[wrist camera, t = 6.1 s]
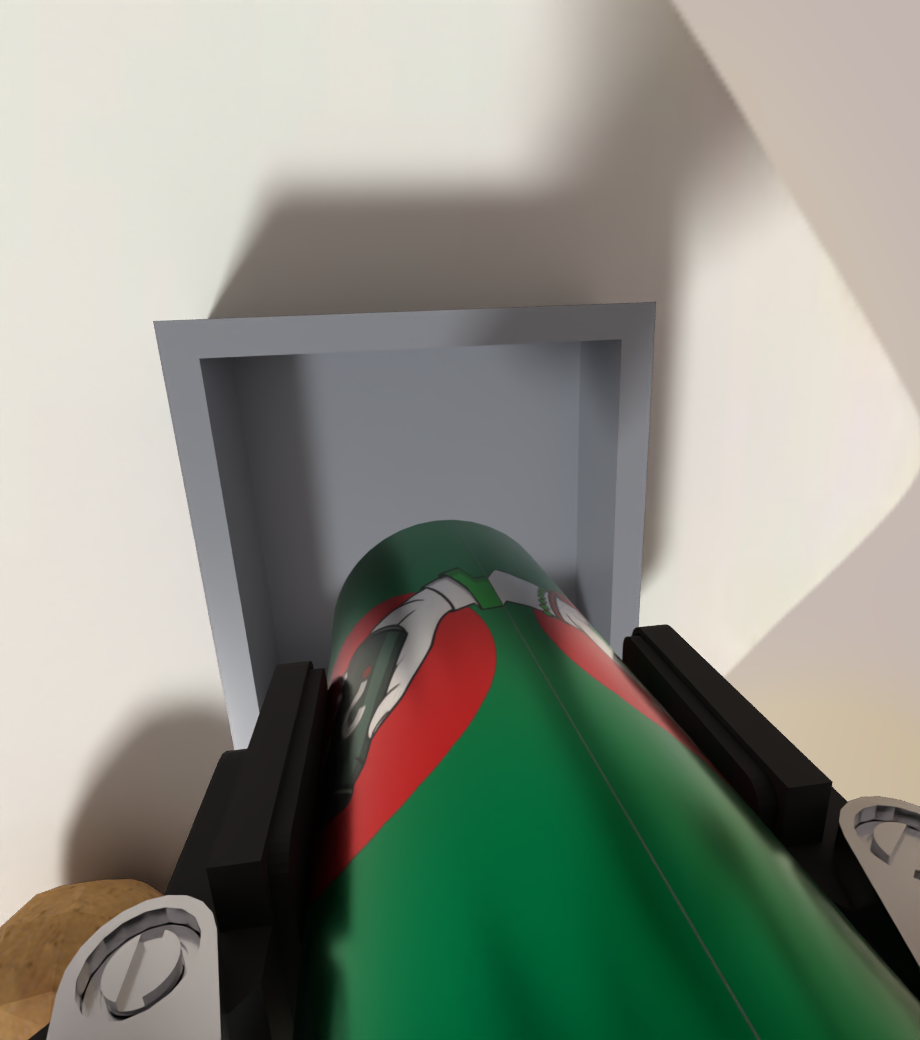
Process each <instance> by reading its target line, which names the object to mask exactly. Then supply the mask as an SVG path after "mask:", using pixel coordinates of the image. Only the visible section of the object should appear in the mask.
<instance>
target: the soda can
mask: <svg viewBox="0 0 920 1040" xmlns="http://www.w3.org/2000/svg"><path fill="white" fill-rule="evenodd" d="M327 686H328V694H327V702H326V710H325V718H324V726H323V734H322V744H321V754H320V764H319V774H318V784H317V794H316V804H315V814H314V824H313V834H312V844H311V854H310V864H309V874H308V884H307V895H306V905H305V915H304V925H303V936H302V946H301V956H300V966H299V976H298V987H297V997H296V1007H295V1017H294V1028H293V1038H292V1040H920V1002H919V1001H918V1000H917V998H916V997H915V996H914V995H913V994H912V993H911V992H910V990H909V989H908V988H907V987H906V986H905V985H904V984H903V982H902V981H901V980H900V979H899V978H898V977H897V975H896V974H895V973H894V972H893V971H892V970H891V969H890V967H889V966H888V965H887V964H886V963H885V962H884V961H883V959H882V958H881V957H880V956H879V955H878V954H877V953H876V951H875V950H874V949H873V948H872V947H871V946H870V944H869V943H868V942H867V941H866V940H865V939H864V938H863V936H862V935H861V934H860V933H859V932H858V931H857V930H856V928H855V927H854V926H853V925H852V924H851V923H850V922H849V920H848V919H847V918H846V917H845V916H844V915H843V913H842V912H841V911H840V910H839V909H838V908H837V907H836V905H835V904H834V903H833V902H832V901H831V900H830V899H829V897H828V896H827V895H826V894H825V893H824V892H823V890H822V889H821V888H820V887H819V886H818V885H817V884H816V882H815V881H814V880H813V879H812V878H811V877H810V876H809V874H808V873H807V872H806V871H805V870H804V869H803V868H802V866H801V865H800V864H799V863H798V862H797V861H796V859H795V858H794V857H793V856H792V855H791V854H790V853H789V851H788V850H787V849H786V848H785V847H784V846H783V845H782V843H781V842H780V841H779V840H778V839H777V838H776V837H775V835H774V834H773V833H772V832H771V831H770V830H769V828H768V827H767V826H766V825H765V824H764V823H763V822H762V820H761V819H760V818H759V817H758V816H757V815H756V814H755V812H754V811H753V810H752V809H751V808H750V807H749V806H748V804H747V803H746V802H745V801H744V800H743V799H742V797H741V796H740V795H739V794H738V793H737V792H736V791H735V789H734V788H733V787H732V786H731V785H730V784H729V783H728V781H727V780H726V779H725V778H724V777H723V776H722V774H721V773H720V772H719V771H718V770H717V769H716V768H715V766H714V765H713V764H712V763H711V762H710V761H709V760H708V758H707V757H706V756H705V755H704V754H703V753H702V752H701V750H700V749H699V748H698V747H697V746H696V745H695V743H694V742H693V741H692V740H691V739H690V738H689V737H688V735H687V734H686V733H685V732H684V731H683V730H682V729H681V727H680V726H679V725H678V724H677V723H676V722H675V721H674V719H673V718H672V717H671V716H670V715H669V714H668V712H667V711H666V710H665V709H664V708H663V707H662V706H661V704H660V703H659V702H658V701H657V700H656V699H655V698H654V696H653V695H652V694H651V693H650V692H649V691H648V690H647V688H646V687H645V686H644V685H643V684H642V683H641V681H640V680H639V679H638V678H637V677H636V676H635V675H634V673H633V672H632V671H631V670H630V669H629V668H628V667H627V665H626V664H625V663H624V662H623V661H622V660H621V658H620V657H619V656H618V655H617V654H616V653H615V652H614V650H613V649H612V648H611V647H610V646H609V645H608V644H607V642H606V641H605V640H604V639H603V638H602V637H601V636H600V634H599V633H598V632H597V631H596V630H595V629H594V627H593V626H592V625H591V624H590V623H589V622H588V621H587V619H586V618H585V617H584V616H583V615H582V614H581V613H580V611H579V610H578V609H577V608H576V607H575V606H574V605H573V603H572V602H571V601H570V600H569V599H568V598H567V596H566V595H565V594H564V593H563V592H562V591H561V590H560V588H559V587H558V586H557V585H556V584H555V583H554V582H553V580H552V579H551V578H550V577H549V576H548V575H547V574H546V572H545V571H544V570H543V569H542V568H541V567H540V565H539V564H538V563H537V562H536V561H535V560H534V559H533V557H532V556H531V555H530V554H529V553H528V552H527V551H526V550H525V549H524V548H523V547H522V546H521V545H520V544H519V543H518V542H516V541H515V540H513V539H512V538H510V537H509V536H507V535H506V534H504V533H502V532H500V531H498V530H496V529H494V528H491V527H489V526H486V525H482V524H479V523H475V522H471V521H462V520H435V521H430V522H425V523H420V524H416V525H414V526H411V527H408V528H405V529H403V530H400V531H398V532H396V533H395V534H393V535H391V536H389V537H387V538H385V539H384V540H382V541H381V542H380V543H378V544H377V545H376V546H374V547H373V548H372V549H370V550H369V551H368V552H367V553H366V554H365V555H364V556H363V558H362V559H361V560H360V561H359V562H358V563H357V564H356V565H355V567H354V568H353V570H352V571H351V572H350V574H349V575H348V577H347V578H346V580H345V582H344V585H343V587H342V589H341V591H340V593H339V596H338V599H337V603H336V606H335V610H334V619H333V628H332V638H331V649H330V659H329V669H328V679H327Z"/></svg>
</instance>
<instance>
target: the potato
mask: <svg viewBox="0 0 920 1040" xmlns="http://www.w3.org/2000/svg"><path fill="white" fill-rule="evenodd" d="M162 896H164V895H163V894H162V893H160V892H159V891H157V890H156V889H154V888H153V887H151V886H150V885H148V884H147V883H145V882H141V881H138V880H134V879H104V880H97V881H90V882H83V883H77V884H70V885H64V886H59V887H57V888H54V889H51V890H48V891H45V892H42V893H39V894H37V895H35V896H34V897H33V898H32V899H31V900H30V901H29V902H28V903H27V904H25V905H24V906H23V907H22V908H21V909H20V910H19V911H18V912H17V913H16V914H14V915H13V916H12V917H11V918H10V919H9V920H8V921H7V922H6V923H5V924H3V925H2V926H1V927H0V1040H28V1039H29V1038H31V1037H32V1036H33V1035H34V1034H36V1033H37V1032H38V1031H40V1030H41V1029H42V1028H43V1027H45V1026H46V1025H47V1024H48V1023H50V1021H51V1016H52V1012H53V1007H54V1002H55V998H56V993H57V990H58V988H59V985H60V983H61V980H62V977H63V975H64V972H65V970H66V968H67V967H68V965H69V964H70V962H71V961H72V959H73V958H74V956H75V955H76V954H77V952H78V951H79V949H80V948H81V946H82V945H83V944H84V943H85V942H86V941H87V940H88V939H89V938H90V937H91V936H92V935H93V934H94V933H95V932H96V931H97V930H98V929H99V928H100V927H102V926H103V925H105V924H106V923H107V922H109V921H110V920H112V919H113V918H114V917H116V916H117V915H119V914H120V913H122V912H123V911H125V910H127V909H129V908H131V907H133V906H135V905H138V904H140V903H142V902H144V901H146V900H150V899H154V898H158V897H162Z"/></svg>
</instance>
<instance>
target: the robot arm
mask: <svg viewBox="0 0 920 1040" xmlns="http://www.w3.org/2000/svg"><path fill="white" fill-rule="evenodd" d="M622 661H623V662H624V663H625V664H626V665H627V667H628V668H629V669H630V670H631V671H632V672H633V673H634V675H635V676H636V677H637V678H638V679H639V680H640V681H641V683H642V684H643V685H644V686H645V687H646V688H647V690H648V691H649V692H650V693H651V694H652V695H653V696H654V698H655V699H656V700H657V701H658V702H659V703H660V704H661V706H662V707H663V708H664V709H665V710H666V711H667V712H668V714H669V715H670V716H671V717H672V718H673V719H674V721H675V722H676V723H677V724H678V725H679V726H680V727H681V729H682V730H683V731H684V732H685V733H686V734H687V735H688V737H689V738H690V739H691V740H692V741H693V742H694V743H695V745H696V746H697V747H698V748H699V749H700V750H701V752H702V753H703V754H704V755H705V756H706V757H707V758H708V760H709V761H710V762H711V763H712V764H713V765H714V766H715V768H716V769H717V770H718V771H719V772H720V773H721V774H722V776H723V777H724V778H725V779H726V780H727V781H728V783H729V784H730V785H731V786H732V787H733V788H734V789H735V791H736V792H737V793H738V794H739V795H740V796H741V797H742V799H743V800H744V801H745V802H746V803H747V804H748V806H749V807H750V808H751V809H752V810H753V811H754V812H755V814H756V815H757V816H758V817H759V818H760V819H761V820H762V822H763V823H764V824H765V825H766V826H767V827H768V828H769V830H770V831H771V832H772V833H773V834H774V835H775V837H776V838H777V839H778V840H779V841H780V842H781V843H782V845H783V846H784V847H785V848H786V849H787V850H788V851H789V853H790V854H791V855H792V856H793V857H794V858H795V859H796V861H797V862H798V863H799V864H800V865H801V866H802V868H803V869H804V870H805V871H806V872H807V873H808V874H809V876H810V877H811V878H812V879H813V880H814V881H815V882H816V884H817V885H818V886H819V887H820V888H821V889H822V890H823V892H824V893H825V894H826V895H827V896H828V897H829V899H830V900H831V901H832V902H833V903H834V904H835V905H836V907H837V908H838V909H839V910H840V911H841V912H842V913H843V915H844V916H845V917H846V918H847V919H848V920H849V922H850V923H851V924H852V925H853V926H854V927H855V928H856V930H857V931H858V932H859V933H860V934H861V935H862V936H863V938H864V939H865V940H866V941H867V942H868V943H869V944H870V946H871V947H872V948H873V949H874V950H875V951H876V953H877V954H878V955H879V956H880V957H881V958H882V959H883V961H884V962H885V963H886V964H887V965H888V966H889V967H890V969H891V970H892V971H893V972H894V973H895V974H896V975H897V977H898V978H899V979H900V980H901V981H902V982H903V984H904V985H905V986H906V987H907V988H908V989H909V990H910V992H911V993H912V994H913V995H914V996H915V997H916V998H917V1000H918V1001H919V1002H920V806H917V805H914V804H911V803H908V802H905V801H902V800H897V799H892V798H886V797H880V796H874V797H860V798H857V799H854V800H851V801H848V802H847V801H846V800H845V799H844V798H843V797H842V796H841V795H840V794H839V793H838V792H837V791H836V790H835V789H834V788H833V787H832V781H831V780H830V779H829V778H828V777H826V775H825V774H823V773H822V772H821V771H820V770H819V769H818V768H817V767H816V766H815V765H814V764H813V763H812V762H811V761H810V760H809V759H808V758H807V757H806V756H805V755H804V754H803V753H802V752H800V751H799V749H797V748H796V747H795V746H794V745H793V744H792V743H791V742H790V741H789V740H788V739H787V738H786V737H785V736H784V735H783V734H782V733H781V732H780V731H779V730H777V728H776V727H774V726H773V725H772V724H771V723H770V722H769V721H768V720H767V719H766V718H765V717H764V716H763V715H762V714H761V713H760V712H759V711H758V710H757V709H756V708H755V707H753V705H752V704H751V703H750V702H748V701H747V700H746V699H745V698H744V697H743V696H742V695H741V694H740V693H739V692H738V691H737V690H736V689H735V688H734V687H733V686H732V685H731V684H730V683H729V682H728V681H727V680H726V679H725V678H724V677H723V676H721V675H720V674H719V673H718V672H717V671H716V670H715V669H714V668H713V667H712V666H711V665H710V664H709V663H708V662H707V661H706V660H705V659H704V658H703V657H702V656H701V655H700V654H699V653H698V652H696V651H695V650H694V649H693V648H692V647H691V646H690V645H689V644H688V643H687V642H686V641H685V640H684V639H683V638H682V637H681V636H680V635H679V634H678V633H677V632H676V631H675V630H674V629H673V628H671V627H670V626H669V625H655V626H646V627H636V628H635V629H634V630H633V632H632V636H628V637H625V638H624V641H623V652H622ZM327 694H328V686H327V678H326V672H325V669H324V668H319V669H314V667H313V663H312V661H303V662H293V663H283V664H277V665H276V667H275V670H274V673H273V676H272V679H271V682H270V684H269V687H268V690H267V693H266V696H265V699H264V702H263V705H262V708H261V710H260V713H259V716H258V719H257V722H256V725H255V728H254V731H253V734H252V736H251V739H250V742H249V745H248V748H247V749H240V750H231V751H226V752H225V753H223V754H222V756H221V758H220V760H219V762H218V764H217V767H216V769H215V771H214V774H213V776H212V779H211V781H210V784H209V786H208V789H207V791H206V794H205V796H204V799H203V801H202V804H201V806H200V808H199V811H198V813H197V816H196V818H195V821H194V823H193V826H192V828H191V831H190V833H189V836H188V838H187V840H186V843H185V845H184V848H183V850H182V853H181V855H180V858H179V860H178V863H177V865H176V868H175V870H174V873H173V875H172V877H171V880H170V882H169V885H168V887H167V890H166V892H165V895H164V896H162V897H158V898H154V899H150V900H146V901H144V902H142V903H140V904H138V905H135V906H133V907H131V908H129V909H127V910H125V911H123V912H122V913H120V914H119V915H117V916H116V917H114V918H113V919H112V920H110V921H109V922H107V923H106V924H105V925H103V926H102V927H100V928H99V929H98V930H97V931H96V932H95V933H94V934H93V935H92V936H91V937H90V938H89V939H88V940H87V941H86V942H85V943H84V944H83V945H82V946H81V948H80V949H79V951H78V952H77V954H76V955H75V956H74V958H73V959H72V961H71V962H70V964H69V965H68V967H67V968H66V970H65V972H64V975H63V977H62V980H61V983H60V985H59V988H58V990H57V993H56V998H55V1002H54V1007H53V1012H52V1016H51V1021H50V1023H48V1024H47V1025H46V1026H45V1027H43V1028H42V1029H41V1030H40V1031H38V1032H37V1033H36V1034H34V1035H33V1036H32V1037H31V1038H29V1039H28V1040H292V1038H293V1028H294V1017H295V1007H296V997H297V987H298V976H299V966H300V956H301V946H302V936H303V925H304V915H305V905H306V895H307V884H308V874H309V864H310V854H311V844H312V834H313V824H314V814H315V804H316V794H317V784H318V774H319V764H320V754H321V744H322V734H323V726H324V718H325V710H326V702H327Z"/></svg>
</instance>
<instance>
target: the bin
mask: <svg viewBox="0 0 920 1040" xmlns="http://www.w3.org/2000/svg"><path fill="white" fill-rule="evenodd" d="M655 310H656V302H643V303H617V304H591V305H565V306H538V307H512V308H486V309H460V310H433V311H407V312H381V313H354V314H328V315H302V316H276V317H249V318H223V319H197V320H171V321H153V323H154V328H155V333H156V339H157V344H158V349H159V354H160V360H161V365H162V370H163V376H164V381H165V386H166V391H167V397H168V402H169V407H170V413H171V418H172V423H173V428H174V434H175V439H176V444H177V450H178V455H179V460H180V465H181V471H182V476H183V481H184V487H185V492H186V497H187V502H188V508H189V513H190V518H191V524H192V529H193V534H194V539H195V545H196V550H197V555H198V561H199V566H200V571H201V576H202V582H203V587H204V592H205V598H206V603H207V608H208V613H209V619H210V624H211V629H212V635H213V640H214V645H215V650H216V656H217V661H218V666H219V672H220V677H221V682H222V687H223V693H224V698H225V703H226V709H227V714H228V719H229V724H230V730H231V735H232V740H233V746H234V750H240V749H247V748H248V745H249V742H250V739H251V736H252V734H253V731H254V728H255V725H256V722H257V719H258V716H259V713H260V710H261V708H262V705H263V702H264V699H265V696H266V693H267V690H268V687H269V684H270V682H271V679H272V676H273V673H274V670H275V667H276V665H277V664H283V663H293V662H303V661H312V663H313V667H314V669H319V668H324V669H325V672H326V678H327V679H328V669H329V659H330V649H331V638H332V628H333V619H334V610H335V606H336V603H337V599H338V596H339V593H340V591H341V589H342V587H343V585H344V582H345V580H346V578H347V577H348V575H349V574H350V572H351V571H352V570H353V568H354V567H355V565H356V564H357V563H358V562H359V561H360V560H361V559H362V558H363V556H364V555H365V554H366V553H367V552H368V551H369V550H370V549H372V548H373V547H374V546H376V545H377V544H378V543H380V542H381V541H382V540H384V539H385V538H387V537H389V536H391V535H393V534H395V533H396V532H398V531H400V530H403V529H405V528H408V527H411V526H414V525H416V524H420V523H425V522H430V521H435V520H462V521H471V522H475V523H479V524H482V525H486V526H489V527H491V528H494V529H496V530H498V531H500V532H502V533H504V534H506V535H507V536H509V537H510V538H512V539H513V540H515V541H516V542H518V543H519V544H520V545H521V546H522V547H523V548H524V549H525V550H526V551H527V552H528V553H529V554H530V555H531V556H532V557H533V559H534V560H535V561H536V562H537V563H538V564H539V565H540V567H541V568H542V569H543V570H544V571H545V572H546V574H547V575H548V576H549V577H550V578H551V579H552V580H553V582H554V583H555V584H556V585H557V586H558V587H559V588H560V590H561V591H562V592H563V593H564V594H565V595H566V596H567V598H568V599H569V600H570V601H571V602H572V603H573V605H574V606H575V607H576V608H577V609H578V610H579V611H580V613H581V614H582V615H583V616H584V617H585V618H586V619H587V621H588V622H589V623H590V624H591V625H592V626H593V627H594V629H595V630H596V631H597V632H598V633H599V634H600V636H601V637H602V638H603V639H604V640H605V641H606V642H607V644H608V645H609V646H610V647H611V648H612V649H613V650H614V652H615V653H616V654H617V655H618V656H619V657H620V658H621V660H622V652H623V641H624V638H625V637H628V636H632V632H633V630H634V629H635V628H636V627H638V626H639V608H640V589H641V571H642V552H643V533H644V515H645V496H646V478H647V459H648V440H649V422H650V403H651V385H652V366H653V347H654V329H655Z"/></svg>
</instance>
